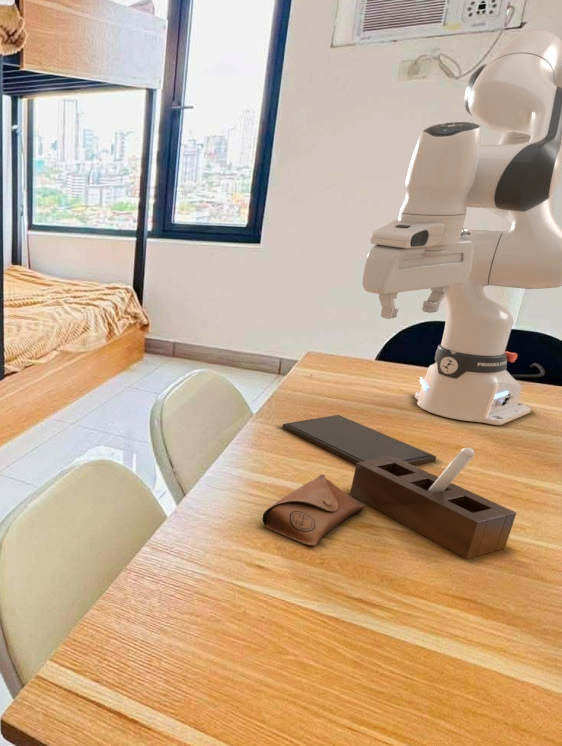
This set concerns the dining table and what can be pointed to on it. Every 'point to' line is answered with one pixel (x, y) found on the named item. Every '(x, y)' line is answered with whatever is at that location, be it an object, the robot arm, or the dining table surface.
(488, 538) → the pen holder
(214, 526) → the dining table surface
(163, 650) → the dining table surface
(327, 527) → the sunglasses case
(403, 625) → the dining table surface
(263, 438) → the dining table surface
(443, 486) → the stylus
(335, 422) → the tablet
